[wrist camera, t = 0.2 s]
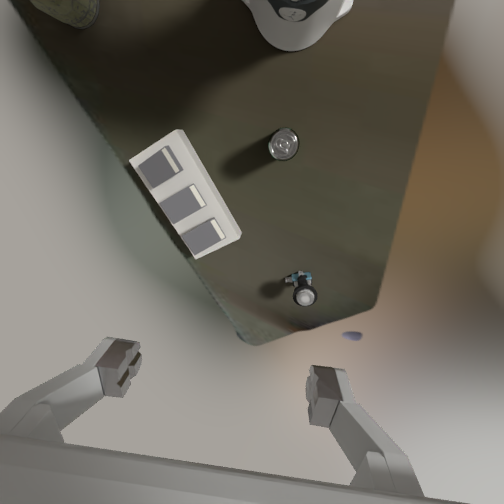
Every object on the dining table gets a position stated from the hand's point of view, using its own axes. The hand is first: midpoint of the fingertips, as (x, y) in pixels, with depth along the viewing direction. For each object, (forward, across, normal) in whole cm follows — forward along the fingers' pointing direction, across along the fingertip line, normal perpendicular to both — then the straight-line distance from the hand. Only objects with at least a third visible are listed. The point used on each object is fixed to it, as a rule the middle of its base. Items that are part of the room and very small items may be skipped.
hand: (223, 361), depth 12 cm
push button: (+47, -12, +22) cm, 53 cm away
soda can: (+47, -3, -9) cm, 48 cm away
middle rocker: (+41, +16, +4) cm, 44 cm away
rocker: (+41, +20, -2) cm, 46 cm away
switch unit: (+47, +16, +4) cm, 50 cm away
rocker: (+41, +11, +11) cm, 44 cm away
